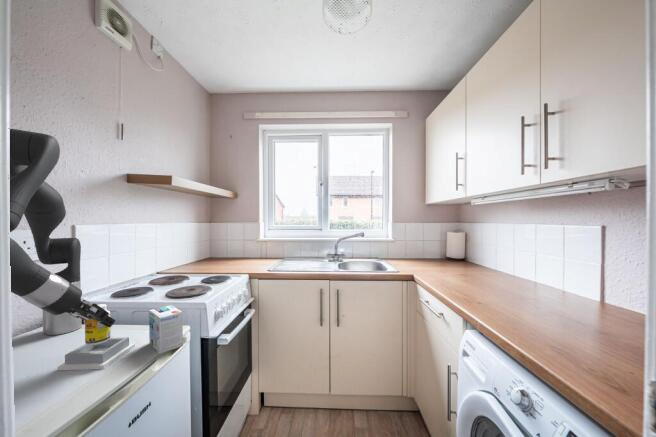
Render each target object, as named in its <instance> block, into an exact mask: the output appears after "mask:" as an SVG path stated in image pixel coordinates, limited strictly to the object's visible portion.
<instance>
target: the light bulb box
mask: <svg viewBox="0 0 656 437" xmlns="http://www.w3.org/2000/svg"><path fill="white" fill-rule="evenodd" d="M148 319H149V320H148V325H149V326H148V330H149V333H148V334H149V335H148V336H149V344H150V345H151V346H152V348H154V350H156V352H157V353H158V354H163V353H166V352H170V351H173V350H176V349H178V348H181V347H184V339H183V338H184V335H183V333H184V332H183V331H184V330H183V329H184V328H183V326H184V325H183V311H181V310H180V309H178V308H177V307H175V306H173V305H171V304H169V305H165V306H162V307H157V308H153V309H149V310H148Z"/></svg>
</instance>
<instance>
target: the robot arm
mask: <svg viewBox="0 0 656 437" xmlns="http://www.w3.org/2000/svg"><path fill="white" fill-rule="evenodd" d="M9 129H10V177H9V178H10V233H12V232H13V231H15V230H16V229H17V228H18V226H19V225H20V222H21V220H22V218H23V216H24V217H25V219H26V222H27V225H28V227H29V229H30V231H31V235H32V238H33V242H34V245H35V252H36V256H37V258H38V260H39V262H40V263H41V264H43V265H45V266H50V265H61V264H67V265H66V267H65V268H63V269H62V270H59V271H58V272H55V273H53V272H51V271H49V270H48V269H46V268H45V267H43V266H41V265H40V264H38V263H37V262H35V261H34V260H33V259H32V258H31V256H30V255H29V254H28V253H27V252H26V251H25V250H24V248H22V247H21V246H20V244H19V243H18V242H17V241H16V240H14V239H13V238H12V237H9V238H10V266H11V293H13V294H15V295H16V296H18V297H20V298H21V299H23V300H24V301H26V302H27V303H29V304H31V305H33V306H35V307H36V308H39V309H41V310H42V334H46V335H47V336H57V335H63V334H68V333H71V332H74V331H76V330H78V329H80V328H82V326H83V325H82V324H83V323H82V322H83V321H85V319H87V320H90V319H93V320H95V321H97V322H99V323H101V324H103V325H105V326H107V327H110V328H111V327H112V326H114V324H115V322H116V319H114V318H112V317H111V316H110V317H109V316H108V315H109V312H107V311H105V310H104V309H103V308H101V307H100V306H98V304H97V303H91V302H90V301H88V300H87V299H83V300H82V296H83V290H82V289H81V286H82V285H81V282H82V281H81V257H82V256H81V254H82V253H81V252H82V251H81V249H82V245H81V241H80V239H79V238H77V237H61V238H60V237H59V238H56V237H55V238H51V237H50V236H51V235H52V234H53V232H54V231H55V230H56V229H57V228H58V227H59V226H60V225H61V223H62V222H63V221H64V220H65V218H66V215H67V211H66V207H65V202H64V200H63V196H62V195H61V193H60V192H58V191H57V190H56V189H55V188H54V186H51V185H50V184H49V183H48V182H47V181H46V179H47V178H48V176H50V174H51V173H52V171H53V170H54V169H55V167H56V165H57V164H58V162H59V159H60V155H61V148H60V143H59V141H58V140H57V138H56V137H55V136H52V135H51V134H46V133H42V132H36V131H35V132H34V131H29V130H23V129H17V128H9ZM87 315H89V316H87ZM82 320H83V321H82Z"/></svg>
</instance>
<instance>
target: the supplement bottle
mask: <svg viewBox="0 0 656 437" xmlns="http://www.w3.org/2000/svg"><path fill="white" fill-rule="evenodd" d="M97 305H98V306H100V307H101V308H103V309H104V310H105V311H107V312H109V315H108V316H109V317H111V311H110V310H107V304H105V303H100V304H97ZM87 316H89V315H87ZM110 338H111V327H107V326H105V325H103V324H101V323H99V322H97V321H95V320H93V319H90V320H87V319H85V320H84V342H85V343H84V344H87V345H97V344H101V343H104V342H106V341H108V340H109V339H110Z"/></svg>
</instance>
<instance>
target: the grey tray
mask: <svg viewBox="0 0 656 437" xmlns="http://www.w3.org/2000/svg"><path fill="white" fill-rule="evenodd" d="M134 348H136V344H135V343H130V337H129V336H127V337H125V336H124V337H110V339H109V340H108V341H106V342H104V343H101V344H97V345H87V344H86V343H84V344H83V345H80V346H78V347H77V348H75V349H73V350H72V351H69V352H68V353H66V354H65V355H64V362H63V363H62V364H59V365H58V366H57V371H73V370H76V371H77V370H104V369H106V368H108V367H109V366H110V365H112V364H113V363H114V362H116V361H117V360H119V359H120V358H121V357H123V356H124V355H126V354H127V353H129V352H130V351H131V350H133V349H134Z"/></svg>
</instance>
